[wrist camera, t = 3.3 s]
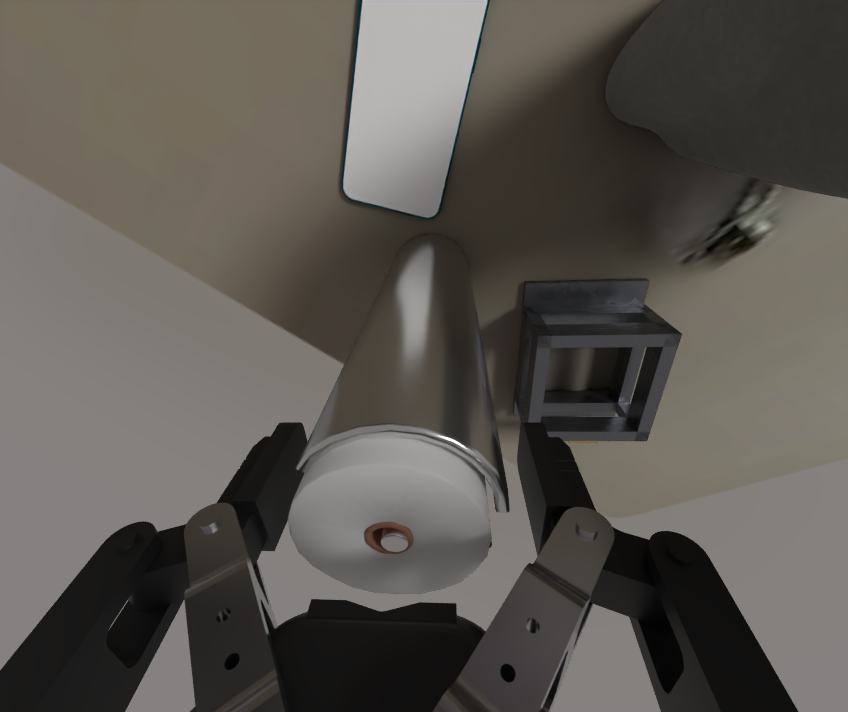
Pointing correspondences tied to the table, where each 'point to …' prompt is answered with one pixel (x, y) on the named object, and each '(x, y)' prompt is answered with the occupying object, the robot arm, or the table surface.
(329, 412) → the silver metal cylinder
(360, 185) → the smartphone
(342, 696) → the robot arm
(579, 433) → the collar bracket
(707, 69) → the vase
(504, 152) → the table surface
